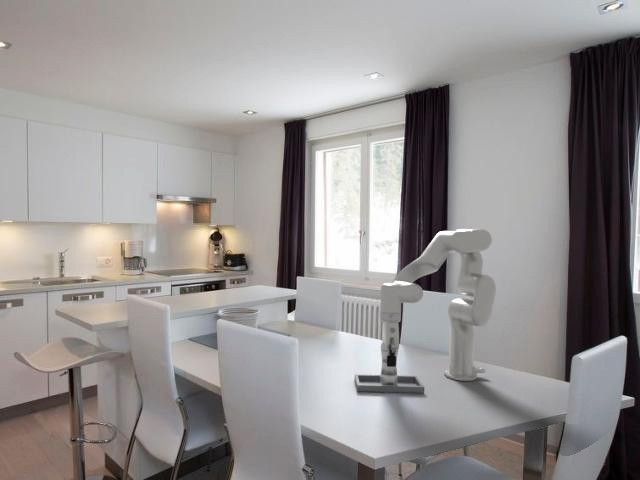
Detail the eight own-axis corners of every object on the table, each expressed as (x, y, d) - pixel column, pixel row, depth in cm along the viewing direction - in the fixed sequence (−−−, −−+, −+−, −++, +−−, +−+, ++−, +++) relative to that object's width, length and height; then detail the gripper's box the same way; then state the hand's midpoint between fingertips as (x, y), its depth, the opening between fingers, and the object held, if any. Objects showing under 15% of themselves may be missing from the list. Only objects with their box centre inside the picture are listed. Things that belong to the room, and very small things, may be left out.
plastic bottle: (397, 390, 159) (399, 335, 159) (378, 388, 160) (380, 334, 160) (398, 384, 165) (399, 331, 165) (379, 382, 167) (381, 330, 166)
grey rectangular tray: (416, 382, 170) (416, 375, 170) (424, 394, 158) (424, 386, 158) (354, 381, 170) (354, 374, 169) (357, 392, 158) (357, 385, 157)
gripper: (405, 321, 155) (403, 370, 155) (396, 312, 172) (394, 356, 172) (383, 321, 154) (382, 369, 155) (377, 312, 172) (375, 355, 172)
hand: (389, 362), depth 163 cm, fingers open, 9 cm apart
